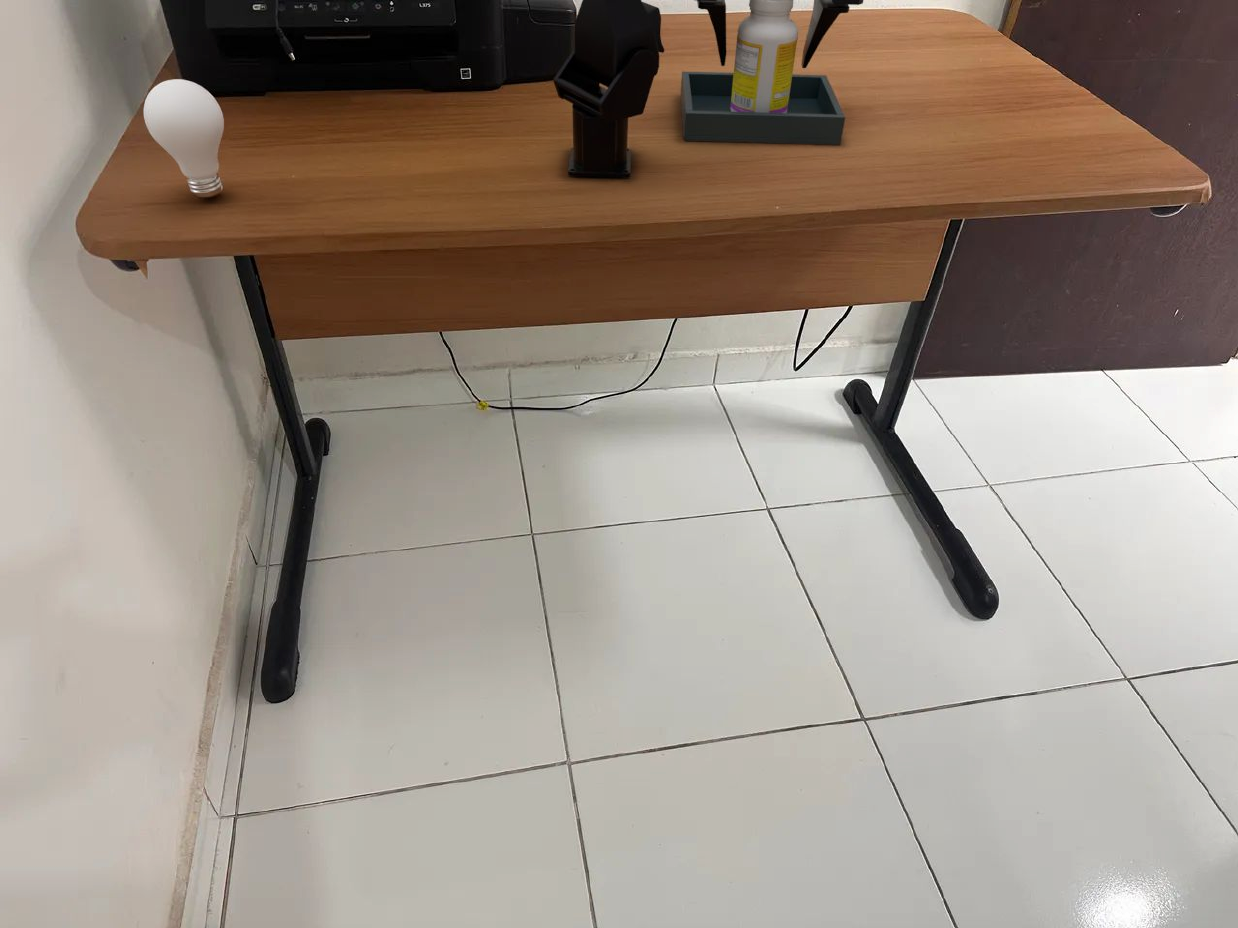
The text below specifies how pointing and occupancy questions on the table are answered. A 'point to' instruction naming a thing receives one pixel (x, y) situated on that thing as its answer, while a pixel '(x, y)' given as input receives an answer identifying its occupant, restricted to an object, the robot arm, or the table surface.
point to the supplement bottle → (764, 58)
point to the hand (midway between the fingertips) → (763, 66)
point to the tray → (804, 123)
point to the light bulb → (188, 131)
